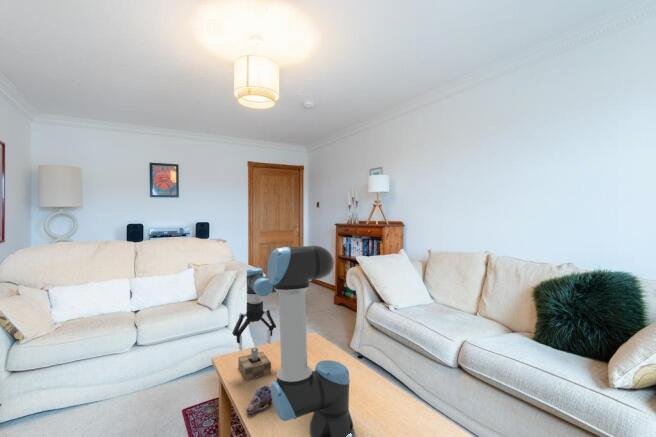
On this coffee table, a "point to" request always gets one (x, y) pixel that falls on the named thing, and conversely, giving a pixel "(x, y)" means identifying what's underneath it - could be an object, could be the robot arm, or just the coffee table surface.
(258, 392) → the purple lumpy piece
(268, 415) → the coffee table surface
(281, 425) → the coffee table surface
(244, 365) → the socket block
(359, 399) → the coffee table surface
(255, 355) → the pin
